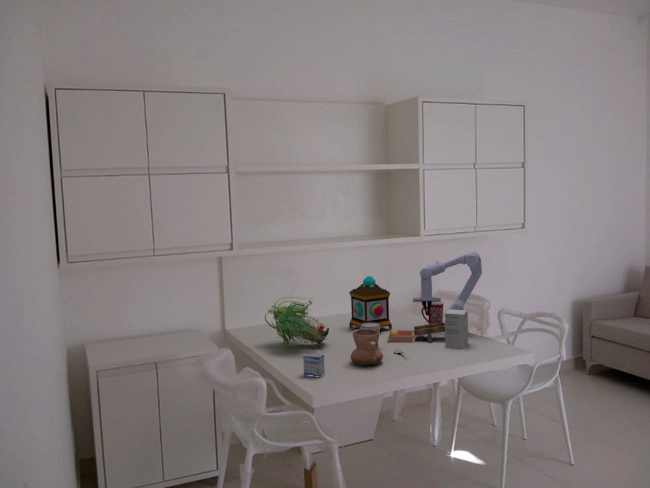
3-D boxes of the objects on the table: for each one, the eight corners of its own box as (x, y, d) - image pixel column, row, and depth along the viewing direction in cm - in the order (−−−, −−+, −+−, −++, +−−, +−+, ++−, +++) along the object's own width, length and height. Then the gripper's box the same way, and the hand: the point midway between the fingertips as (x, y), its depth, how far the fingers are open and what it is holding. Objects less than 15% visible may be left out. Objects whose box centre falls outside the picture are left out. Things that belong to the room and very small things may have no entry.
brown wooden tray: (445, 325, 294) (444, 319, 294) (446, 332, 279) (445, 326, 279) (415, 329, 297) (414, 323, 297) (414, 337, 282) (413, 331, 282)
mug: (440, 324, 317) (440, 300, 316) (446, 327, 308) (446, 303, 307) (419, 325, 315) (418, 302, 314) (424, 329, 306) (423, 305, 305)
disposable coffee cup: (367, 345, 279) (367, 321, 278) (384, 347, 273) (383, 323, 272) (357, 350, 271) (356, 325, 270) (374, 352, 265) (373, 327, 264)
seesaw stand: (431, 336, 292) (431, 327, 291) (431, 342, 279) (431, 333, 279) (427, 336, 292) (427, 327, 292) (427, 342, 280) (427, 333, 279)
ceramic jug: (390, 366, 244) (389, 334, 243) (359, 370, 240) (358, 337, 238) (373, 355, 261) (372, 325, 260) (344, 359, 256) (343, 328, 255)
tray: (413, 336, 293) (413, 330, 293) (412, 342, 281) (412, 336, 281) (390, 335, 295) (389, 330, 295) (388, 342, 283) (388, 336, 283)
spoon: (399, 351, 268) (399, 347, 268) (416, 363, 248) (416, 359, 248) (391, 352, 267) (391, 348, 267) (407, 364, 247) (407, 360, 247)
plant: (326, 344, 257) (258, 310, 261) (311, 378, 278) (249, 346, 283) (349, 300, 279) (287, 269, 283) (334, 334, 300) (276, 305, 304)
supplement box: (449, 342, 279) (449, 308, 277) (468, 343, 275) (468, 310, 273) (445, 347, 270) (444, 312, 269) (464, 349, 266) (463, 314, 265)
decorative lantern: (346, 328, 315) (344, 275, 313) (376, 323, 324) (374, 272, 322) (364, 335, 298) (362, 279, 295) (395, 330, 306) (394, 276, 304)
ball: (395, 338, 291) (400, 332, 290) (395, 340, 287) (399, 334, 286) (389, 334, 291) (393, 327, 290) (388, 336, 287) (393, 329, 286)
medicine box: (303, 376, 235) (302, 356, 234) (307, 373, 239) (306, 353, 238) (321, 377, 232) (320, 357, 231) (325, 374, 236) (324, 354, 235)
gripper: (440, 288, 300) (440, 313, 301) (412, 288, 303) (413, 313, 304) (440, 290, 293) (441, 316, 294) (412, 291, 296) (413, 316, 297)
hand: (427, 315), depth 299 cm, fingers closed
